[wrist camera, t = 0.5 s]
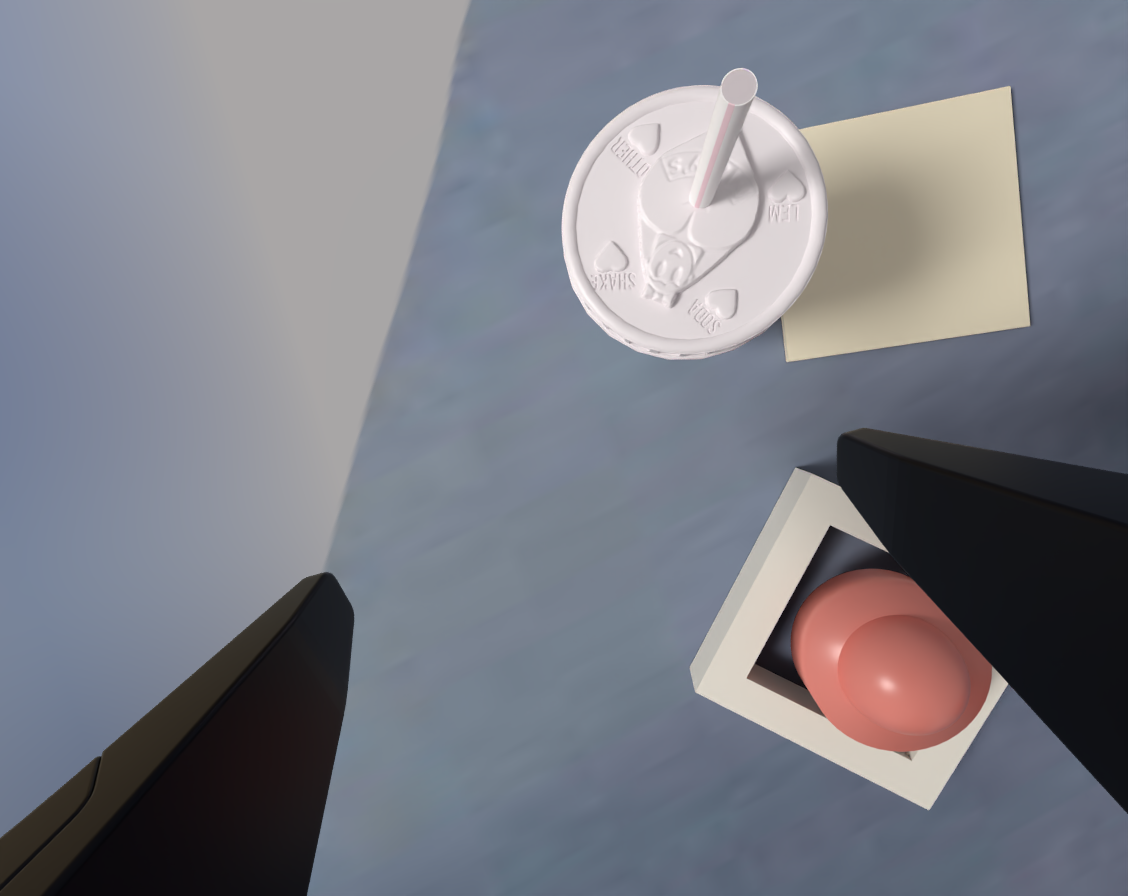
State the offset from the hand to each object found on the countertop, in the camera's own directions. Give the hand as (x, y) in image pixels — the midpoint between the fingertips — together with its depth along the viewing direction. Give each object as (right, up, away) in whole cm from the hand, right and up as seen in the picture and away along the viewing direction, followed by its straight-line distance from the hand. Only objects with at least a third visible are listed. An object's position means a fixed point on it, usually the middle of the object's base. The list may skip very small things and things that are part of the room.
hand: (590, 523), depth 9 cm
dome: (+12, -6, +11) cm, 17 cm away
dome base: (+12, -6, +13) cm, 19 cm away
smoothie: (+4, +8, +13) cm, 16 cm away
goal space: (+13, +10, +12) cm, 20 cm away
